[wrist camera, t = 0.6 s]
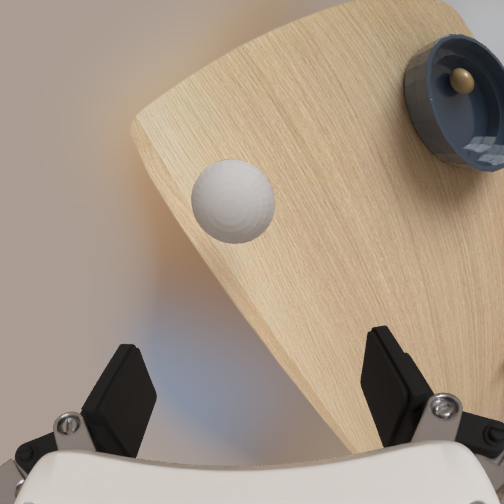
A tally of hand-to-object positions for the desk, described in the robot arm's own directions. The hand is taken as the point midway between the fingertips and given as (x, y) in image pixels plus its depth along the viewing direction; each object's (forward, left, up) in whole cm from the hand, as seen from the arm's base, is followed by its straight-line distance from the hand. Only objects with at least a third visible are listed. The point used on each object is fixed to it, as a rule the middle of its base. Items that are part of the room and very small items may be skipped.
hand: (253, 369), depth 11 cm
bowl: (-15, +28, -24) cm, 40 cm away
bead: (-18, +28, -22) cm, 40 cm away
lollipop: (-5, -1, -24) cm, 25 cm away
